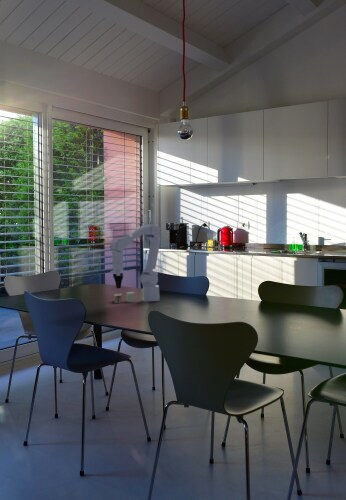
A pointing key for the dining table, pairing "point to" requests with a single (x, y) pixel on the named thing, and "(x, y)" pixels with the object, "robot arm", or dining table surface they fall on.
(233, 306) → the dining table surface
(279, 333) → the dining table surface
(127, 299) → the sage block
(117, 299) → the maple block
